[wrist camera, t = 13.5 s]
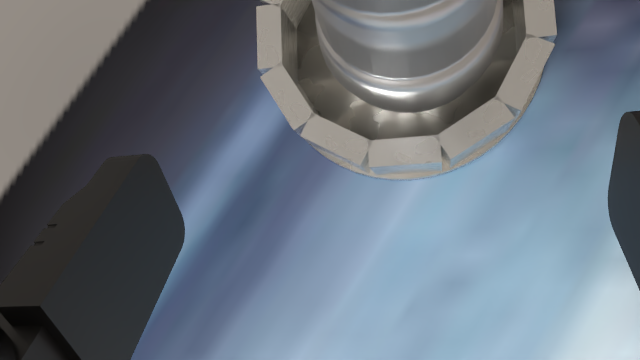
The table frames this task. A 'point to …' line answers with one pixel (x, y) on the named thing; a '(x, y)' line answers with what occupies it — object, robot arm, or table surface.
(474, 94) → the ring holder
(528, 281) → the table surface
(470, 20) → the plastic bottle
